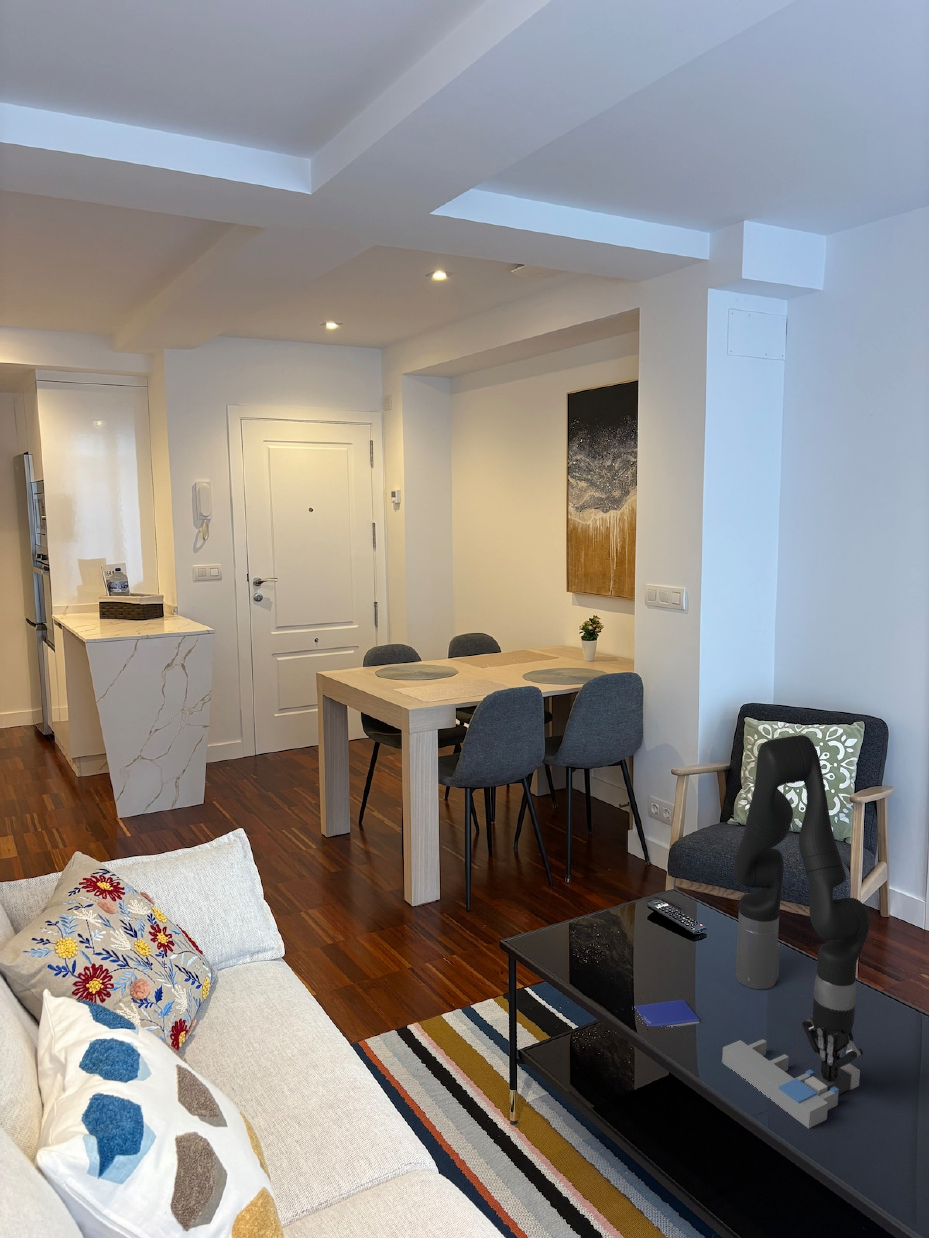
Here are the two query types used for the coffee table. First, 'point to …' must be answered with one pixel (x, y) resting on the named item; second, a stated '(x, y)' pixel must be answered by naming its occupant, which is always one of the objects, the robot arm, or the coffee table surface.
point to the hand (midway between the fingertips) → (828, 1078)
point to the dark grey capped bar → (836, 1081)
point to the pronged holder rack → (779, 1082)
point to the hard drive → (667, 1014)
